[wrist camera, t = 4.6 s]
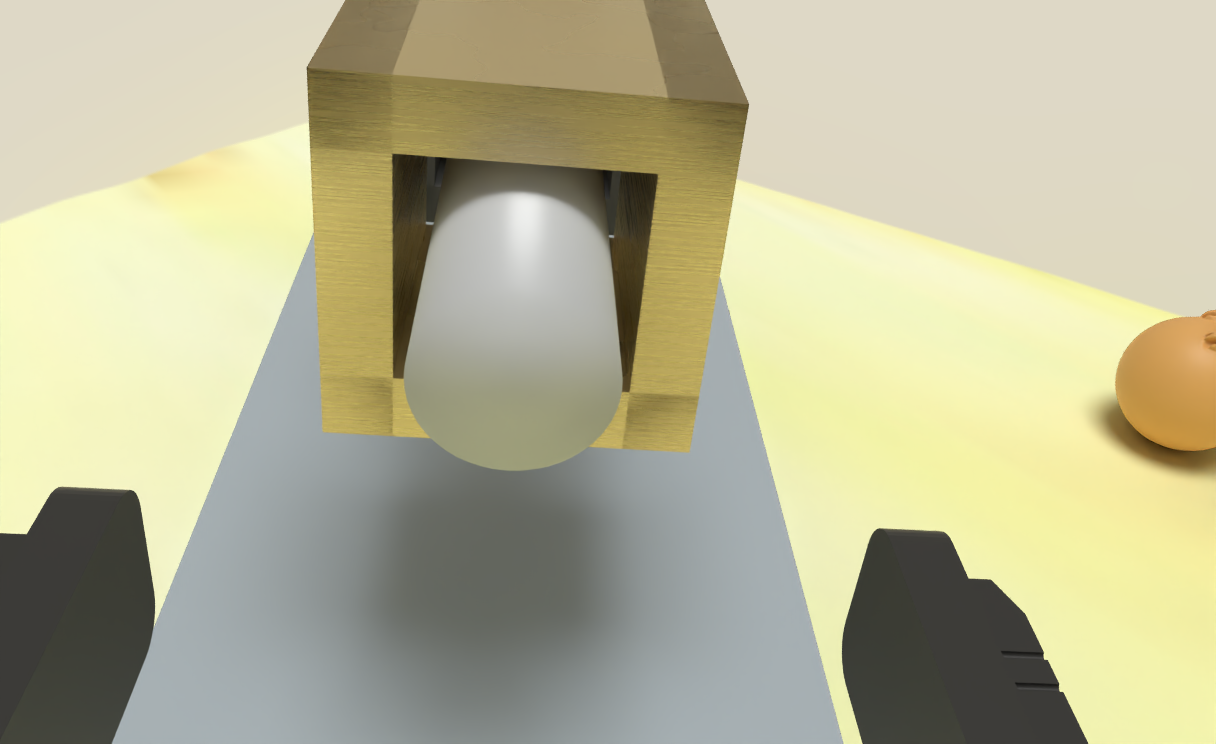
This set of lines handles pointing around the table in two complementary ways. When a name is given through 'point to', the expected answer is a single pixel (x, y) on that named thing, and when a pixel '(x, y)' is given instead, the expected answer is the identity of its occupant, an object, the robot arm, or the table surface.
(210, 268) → the table surface
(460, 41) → the sleeve
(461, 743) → the pipe rig
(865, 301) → the table surface
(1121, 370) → the figurine
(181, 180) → the table surface
